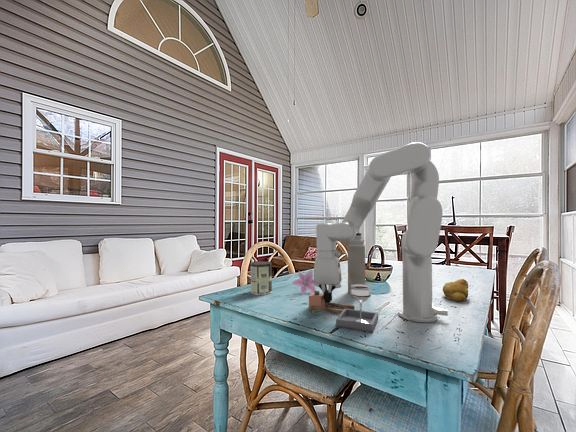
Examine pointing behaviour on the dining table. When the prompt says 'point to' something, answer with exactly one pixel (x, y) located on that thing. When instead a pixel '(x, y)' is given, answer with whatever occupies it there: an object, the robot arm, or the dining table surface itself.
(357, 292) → the wineglass
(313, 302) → the piston block
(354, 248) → the thermos bottle
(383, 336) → the dining table surface
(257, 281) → the coffee can
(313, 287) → the lily
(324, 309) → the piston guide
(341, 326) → the tray
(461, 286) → the bread roll
